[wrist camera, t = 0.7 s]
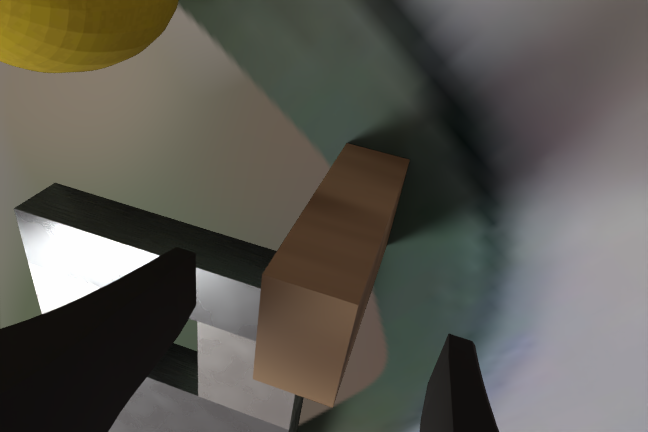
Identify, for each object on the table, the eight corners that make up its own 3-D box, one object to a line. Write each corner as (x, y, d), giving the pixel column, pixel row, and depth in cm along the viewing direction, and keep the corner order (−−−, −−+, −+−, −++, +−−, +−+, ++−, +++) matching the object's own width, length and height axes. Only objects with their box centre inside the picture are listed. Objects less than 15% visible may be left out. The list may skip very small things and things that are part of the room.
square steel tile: (291, 460, 31) (276, 499, 28) (96, 385, 33) (69, 417, 31) (328, 267, 21) (310, 304, 19) (55, 182, 24) (13, 208, 22)
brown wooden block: (386, 245, 20) (332, 407, 14) (330, 229, 20) (252, 378, 14) (409, 159, 18) (358, 304, 11) (346, 143, 18) (262, 274, 12)
